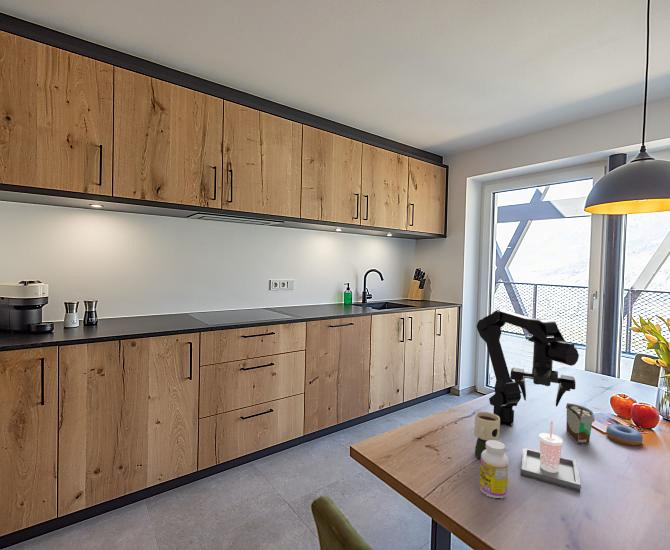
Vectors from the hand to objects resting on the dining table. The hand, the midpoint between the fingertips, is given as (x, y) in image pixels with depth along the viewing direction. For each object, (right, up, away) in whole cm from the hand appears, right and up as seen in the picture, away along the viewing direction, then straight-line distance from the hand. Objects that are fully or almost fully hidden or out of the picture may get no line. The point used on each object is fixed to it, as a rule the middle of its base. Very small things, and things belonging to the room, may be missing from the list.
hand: (540, 403), depth 125 cm
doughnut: (+30, -14, +3) cm, 34 cm away
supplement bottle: (-28, -14, -28) cm, 41 cm away
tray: (-7, -14, -17) cm, 23 cm away
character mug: (-23, -13, -11) cm, 29 cm away
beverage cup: (-7, -13, -17) cm, 23 cm away
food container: (+16, -14, +3) cm, 21 cm away
